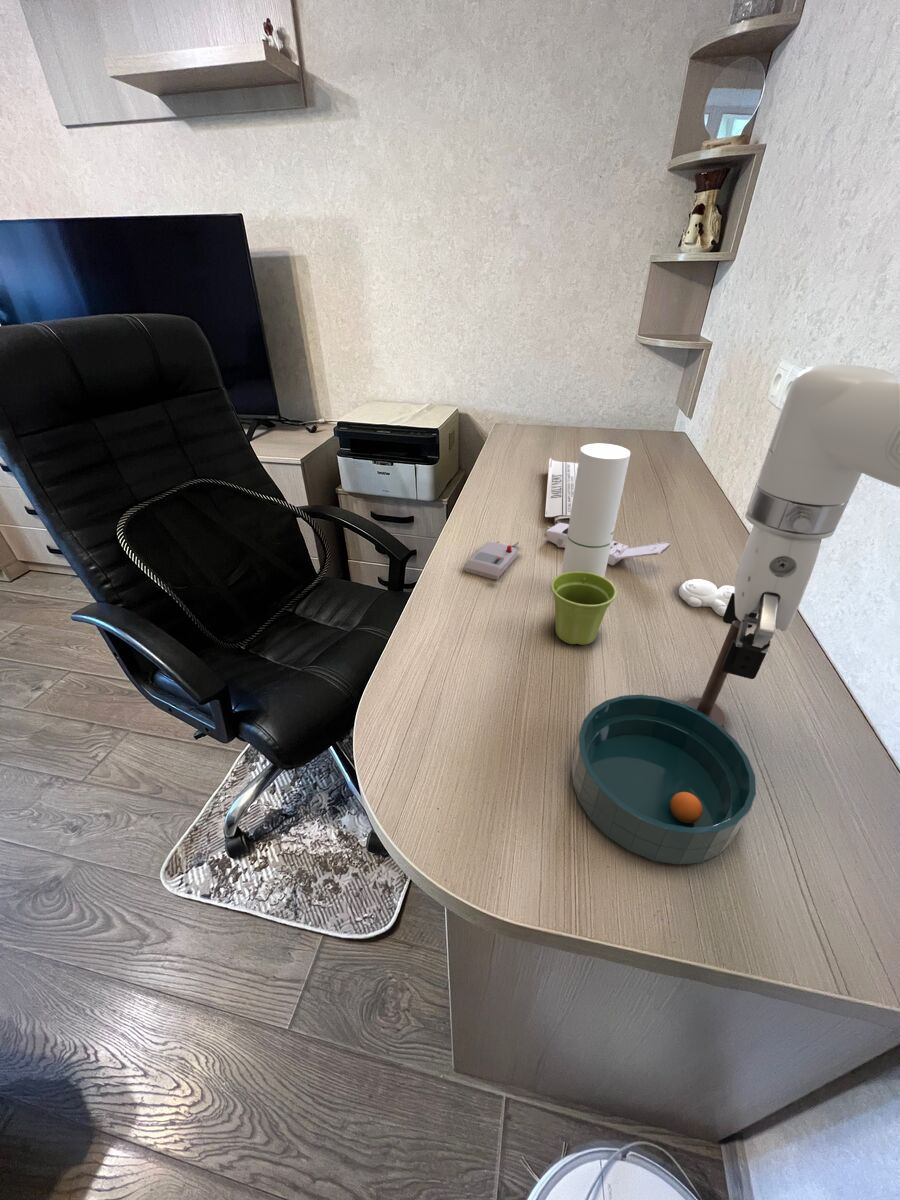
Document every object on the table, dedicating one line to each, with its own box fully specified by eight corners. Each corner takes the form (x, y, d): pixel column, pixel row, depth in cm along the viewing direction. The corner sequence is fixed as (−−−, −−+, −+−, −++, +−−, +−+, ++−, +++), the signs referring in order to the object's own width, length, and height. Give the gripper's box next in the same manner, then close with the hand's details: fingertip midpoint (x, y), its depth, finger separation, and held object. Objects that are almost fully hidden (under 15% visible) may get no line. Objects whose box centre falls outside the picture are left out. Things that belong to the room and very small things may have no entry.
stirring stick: (724, 709, 65) (765, 618, 57) (721, 736, 62) (765, 643, 53) (683, 696, 67) (717, 607, 59) (678, 722, 63) (714, 630, 55)
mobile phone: (659, 553, 87) (538, 512, 100) (651, 582, 90) (534, 539, 104) (672, 542, 91) (553, 504, 104) (664, 570, 94) (549, 529, 108)
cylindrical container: (605, 588, 89) (636, 448, 75) (592, 608, 84) (622, 462, 70) (567, 577, 92) (589, 440, 78) (552, 595, 87) (573, 453, 73)
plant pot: (532, 631, 79) (537, 585, 74) (570, 608, 84) (578, 564, 79) (580, 661, 73) (589, 613, 68) (618, 635, 78) (629, 589, 73)
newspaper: (602, 530, 108) (605, 515, 105) (544, 526, 109) (546, 511, 107) (588, 472, 136) (590, 459, 134) (542, 469, 138) (543, 457, 136)
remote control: (459, 575, 92) (460, 561, 90) (494, 540, 103) (495, 527, 102) (493, 585, 90) (493, 570, 88) (524, 548, 101) (525, 534, 99)
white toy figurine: (747, 626, 80) (754, 611, 78) (672, 599, 86) (676, 585, 84) (759, 602, 86) (766, 587, 84) (687, 578, 92) (692, 564, 90)
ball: (713, 818, 50) (692, 806, 49) (690, 833, 51) (669, 821, 50) (701, 793, 52) (681, 781, 52) (680, 808, 54) (660, 797, 53)
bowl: (735, 758, 59) (752, 723, 56) (736, 898, 46) (759, 864, 43) (588, 711, 65) (596, 677, 61) (554, 824, 52) (561, 789, 49)
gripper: (858, 556, 40) (780, 708, 49) (826, 484, 53) (769, 615, 62) (753, 539, 42) (698, 686, 52) (747, 474, 55) (704, 601, 65)
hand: (736, 647), depth 57 cm, fingers open, 9 cm apart
